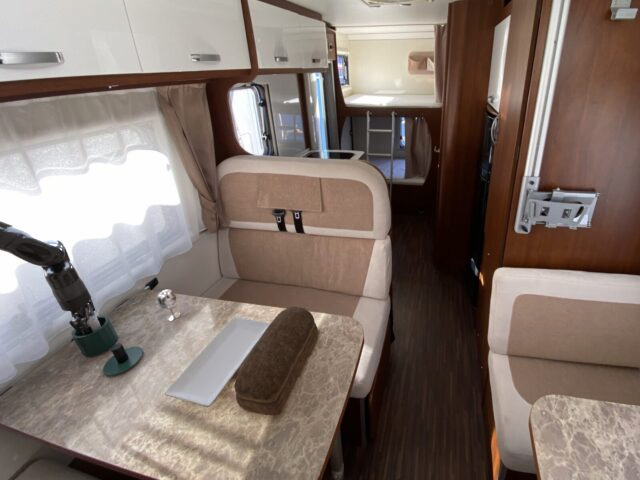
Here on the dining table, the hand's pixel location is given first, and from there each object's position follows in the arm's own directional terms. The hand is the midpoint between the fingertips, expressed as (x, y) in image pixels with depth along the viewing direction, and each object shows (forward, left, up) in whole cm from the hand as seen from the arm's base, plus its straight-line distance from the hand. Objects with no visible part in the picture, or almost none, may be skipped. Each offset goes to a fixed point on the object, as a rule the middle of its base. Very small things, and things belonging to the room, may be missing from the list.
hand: (92, 329), depth 109 cm
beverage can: (0, 0, -8) cm, 8 cm away
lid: (+9, -14, -7) cm, 18 cm away
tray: (+40, -33, -8) cm, 52 cm away
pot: (0, 0, -8) cm, 8 cm away
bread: (+57, -46, -8) cm, 74 cm away
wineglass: (+23, +2, -8) cm, 25 cm away
